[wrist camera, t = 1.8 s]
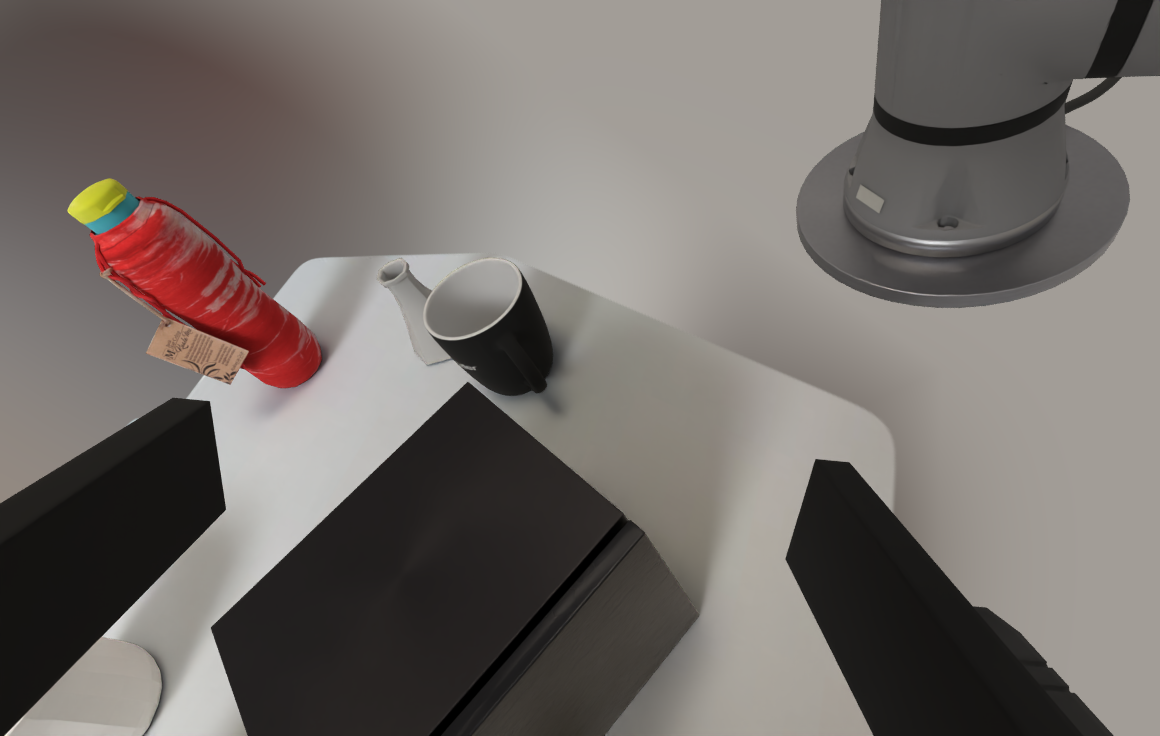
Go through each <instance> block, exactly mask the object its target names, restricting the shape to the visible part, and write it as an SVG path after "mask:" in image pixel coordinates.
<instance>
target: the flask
mask: <svg viewBox="0 0 1160 736" xmlns="http://www.w3.org/2000/svg"><path fill="white" fill-rule="evenodd" d="M377 280H378V281H379V282H380V283H381V284H382V285H383V286H384V287H385V288H387V287H388V288H389V290H390V291H391V292H392V294H393V295H394V297H395V299H396V301H397V302H398V304H399V306H400V308H401V311H402V314H403V317H404V320H405V323H406V326H407V329H408V332H409V335H410V339H411V342H412V345H413V348H414V351H415V353H416V354H417V355H418V356H419V357H420V358H421V359H422V360H423V361H424V363H425V364H426V365H429V364H433V363H436V362H440V361H443V360H447V359H450V358H451V357H450V356H449V355H448V354H447V353H446V352H445V351H444V350H443V349H442V348H441V347H440V345H439V344H438V343H437V342H436V341H435V340H434V339H433V337H432V336H431V335H430V334H429V332H428V331H427V329H426V327H425V325H424V321H423V312H424V307H425V304H426V301H427V299H428V297H429V295H430V294H431V292H432V290H430V289H428V288H427V287H425V286H424V285H422V284H421V283H420V282H419V281H418V280H417V279H416V278H415V277H414V276H413V274H412V273H411V272H410V270H409V264H408V263H407V262H406V261H405V260H403V259H402V258H399V259H396V260H393V261H390V262H388V263H387V264H386V265H385V266H383V267H382V268H381V269H380V270H379V272H378V276H377Z"/></svg>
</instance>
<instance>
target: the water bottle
mask: <svg viewBox="0 0 1160 736" xmlns="http://www.w3.org/2000/svg"><path fill="white" fill-rule="evenodd" d="M162 203H163V204H162ZM164 204H165V205H167V206H169V207H171V208H173V209H174V210H176V211H178V212H180V213H181V214H183V215H184V216H185V217H186V218H188V219H189V220H190V221H191V222H193V223H194V224H195V225H196V226H198V227H199V228H200V229H201V230H203V231H204V232H205V233H206V234H208V235H209V236H210V237H212V238H213V239H214V240H215V241H216V242H217V243H218V244H219V245H220V246H221V247H223V248H224V249H225V250H226V251H227V252H228V253H229V254H230V255H231V256H232V257H233V258H234V259H236V260H237V261H238V264H239V265H238V264H236V263H235V262H234V261H232V260H231V259H230V258H229V257H228V256H227V255H226V254H225V253H224V252H223V251H222V250H221V249H220V248H219V247H218V246H217V245H216V244H215V243H214V242H213V241H211V240H210V239H209V238H208V237H207V236H206V235H205V234H204V233H203V232H201V231H200V230H199V229H198V228H197V227H196V226H195V225H193V224H192V223H191V222H189V221H188V220H187V219H185V218H184V217H183V216H181V215H180V214H179V213H177V212H176V211H174V210H173V209H171V208H169V207H167V206H165V205H164ZM68 213H69V214H70V215H72V216H73V217H74V218H76V219H77V220H78V221H79V222H81V223H82V224H85V225H86V226H87V227H88V228H90V229H91V233H90V236H91V238H92V240H93V241H94V242H95V254H96V259H97V264H98V266H99V268H100V270H101V272H100V276H101V277H102V278H104V279H108V280H109V281H110V282H112V283H113V284H114V285H115V286H116V287H118V288H119V289H120V290H122V291H123V292H124V293H126V294H127V295H128V296H130V297H131V298H133V299H134V300H135V301H137V302H138V303H139V304H141V305H142V306H144V307H145V308H146V309H148V310H149V311H151V312H152V313H154V314H155V315H157V316H158V317H159V318H161V319H162V321H161V323H160V325H159V327H158V329H157V331H156V333H155V335H154V338H153V339H152V341H151V344H150V346H149V348H148V350H147V352H146V354H149V355H152V356H154V357H157V358H160V359H162V360H165V361H168V362H170V363H173V364H176V365H179V366H181V367H184V368H187V369H189V370H192V371H195V372H198V373H200V374H203V375H205V376H208V377H211V378H214V379H216V380H219V381H222V382H224V383H227V384H231V383H232V381H233V379H234V377H235V375H236V374H237V372H238V370H239V368H242V369H245V370H247V371H248V372H250V373H251V374H252V375H254V376H255V377H257V378H258V379H259V380H261V381H262V382H264V383H265V384H268V385H271V386H275V387H278V388H290V387H296V386H298V385H300V384H302V383H303V382H305V381H307V380H308V379H309V378H310V377H311V376H312V375H313V374H314V373H315V372H316V371H317V369H318V367H319V365H320V363H321V360H322V357H321V349H320V345H319V343H318V341H317V339H316V337H315V335H314V334H313V333H312V332H311V331H310V330H309V329H308V328H307V327H306V326H305V325H304V324H303V323H302V322H301V321H300V320H299V319H298V318H296V317H295V316H294V315H292V314H291V313H290V312H289V311H287V310H286V309H285V308H284V307H282V306H281V305H280V304H278V303H277V302H276V301H275V300H273V299H272V298H271V297H270V296H268V295H267V294H266V293H264V292H263V291H262V290H261V289H260V288H259V287H261V285H260V284H259V283H258V282H257V281H256V280H255V279H257V280H258V281H259V282H260V283H262V284H263V285H265V284H266V283H265V282H264V281H263V280H262V279H260V278H259V277H258V276H257V275H255V274H254V273H252V272H250V271H247V270H246V269H244V267H243V264H242V262H241V260H240V259H239V258H238V257H237V256H236V255H235V254H234V253H233V252H232V251H230V250H229V249H228V248H227V247H226V246H225V245H224V244H223V243H222V242H221V241H220V240H219V239H218V238H217V237H215V236H214V235H213V234H212V233H210V232H209V231H208V230H207V229H206V228H204V227H203V226H202V225H201V224H199V223H198V222H197V221H196V220H194V219H193V218H192V217H191V216H189V215H188V214H187V213H186V212H184V211H183V210H181V209H180V208H178V207H176V206H174V205H172V204H170V203H169V202H167V201H164V200H161V199H158V198H155V197H145V198H141V197H133V196H132V195H131V194H130V193H129V192H128V191H127V189H126V188H124V187H123V186H122V185H121V184H120V183H119V182H118V181H115V180H113V179H106V180H103V181H100V182H97V183H95V184H93V185H92V186H90V187H88V188H87V189H86V190H84V191H83V192H81V193H80V194H79V195H78V196H77V197H76V198H75V199H74V200H73V201H72V203H71V204H70V206H69V208H68ZM104 267H105V268H106V269H105V268H104ZM117 273H118V274H119V275H120V276H121V277H120V276H119V275H118V274H117ZM111 274H112V275H111ZM246 275H247V276H248V277H249V278H250V279H251V280H253V282H254V283H255V284H256V285H257V286H256V285H255V284H254V283H253V282H252V281H251V280H250V279H249V278H248V277H247V276H246ZM252 276H253V277H254V278H255V279H254V278H253V277H252ZM115 280H118V281H120V282H122V283H123V284H124V285H126V286H127V287H128V288H130V291H131V292H129V291H128V290H127V289H125V288H124V287H122V286H121V285H120V284H119V283H117V282H116V281H115ZM136 288H137V289H136ZM140 291H141V292H142V293H143V294H142V293H141V292H140ZM144 294H145V295H144ZM138 297H139V298H143V299H144V300H145V301H146V302H148V303H149V304H150V305H152V306H153V307H155V308H156V309H157V310H159V311H160V312H161V313H162V314H163V315H161V314H160V313H158V312H157V311H155V310H154V309H153V308H151V307H150V306H149V305H147V304H146V303H144V302H143V301H142V300H140V299H139V298H138ZM165 309H167V310H168V311H170V312H171V313H173V314H175V315H176V316H178V317H180V318H181V319H183V320H185V321H186V322H188V323H189V324H190V325H192V326H193V327H194V328H196V329H193V328H191V327H188V326H187V325H185V324H183V323H182V322H180V321H179V320H178V319H176V318H175V317H173V316H172V315H170V314H169V313H168V312H166V310H165Z"/></svg>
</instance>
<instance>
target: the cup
mask: <svg viewBox="0 0 1160 736" xmlns="http://www.w3.org/2000/svg"><path fill="white" fill-rule="evenodd" d="M161 690H162V680H161V673H160V669H159V668H158V666H157V664H156V662H155V660H154V658H153V657H152V656H151V655H150V654H149V653H148V652H147V651H145V650H144V649H143V648H141V647H139V646H137V645H136V644H132V643H128V642H124V641H119V640H115V639H110V638H105V637H101V638H100V639H99V640H98V641H97V642H96V643H95V644H94V645H93V646H92V647H91V648H90V649H89V650H88V651H87V652H86V653H85V654H84V655H83V656H82V657H81V658H80V659H79V660H78V661H77V662H76V663H75V664H74V665H73V666H72V667H71V668H70V669H69V670H68V671H67V672H66V673H65V674H64V675H63V676H62V677H61V678H60V679H59V681H58V682H57V683H56V684H55V685H54V686H53V687H52V688H51V689H50V690H49V691H48V692H47V693H46V694H45V695H44V696H43V697H42V698H41V699H40V700H39V701H38V702H37V703H36V704H35V705H34V706H33V707H32V708H31V709H30V710H29V711H28V712H27V713H26V714H25V715H24V716H23V717H22V718H21V719H20V720H19V721H18V722H17V723H16V724H15V725H14V726H13V727H12V728H11V729H10V730H9V732H8V733H7V734H6V735H5V736H143V735H144V733H145V732H146V730H147V729H148V728H149V726H150V723H151V721H152V719H153V716H154V714H155V712H156V709H157V707H158V705H159V700H160V695H161Z"/></svg>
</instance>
